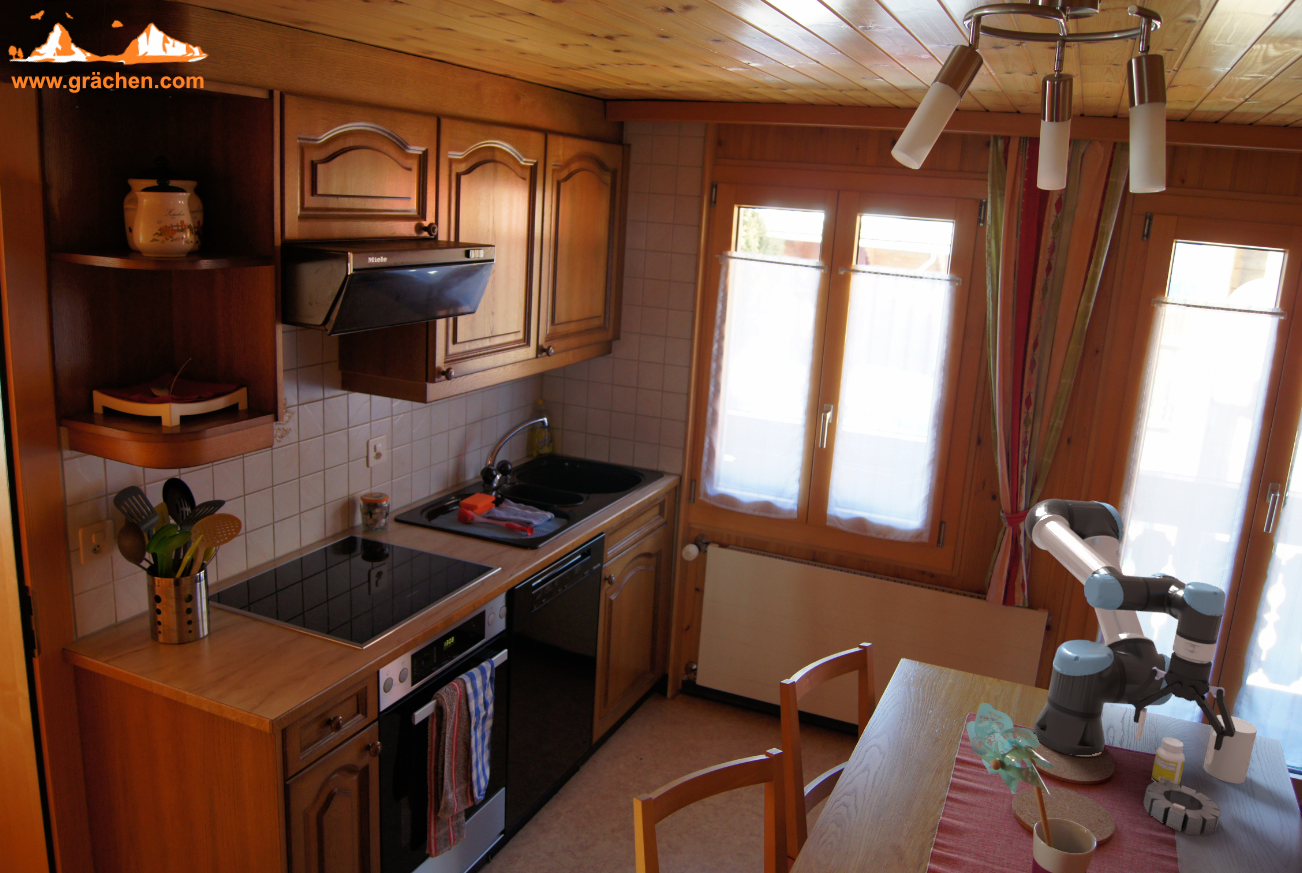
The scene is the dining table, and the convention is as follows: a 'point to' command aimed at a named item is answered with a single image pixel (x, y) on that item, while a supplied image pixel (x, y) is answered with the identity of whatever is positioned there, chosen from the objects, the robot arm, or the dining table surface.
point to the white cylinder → (1232, 753)
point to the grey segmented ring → (1182, 808)
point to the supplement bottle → (1168, 762)
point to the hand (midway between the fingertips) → (1173, 749)
